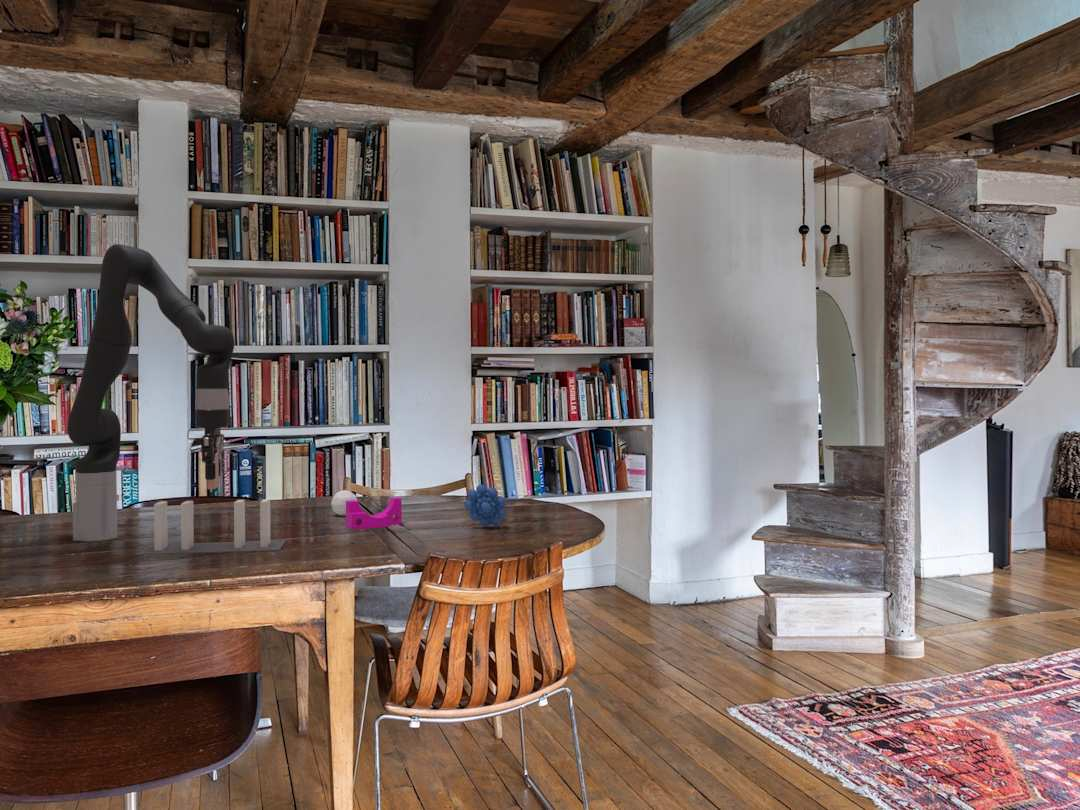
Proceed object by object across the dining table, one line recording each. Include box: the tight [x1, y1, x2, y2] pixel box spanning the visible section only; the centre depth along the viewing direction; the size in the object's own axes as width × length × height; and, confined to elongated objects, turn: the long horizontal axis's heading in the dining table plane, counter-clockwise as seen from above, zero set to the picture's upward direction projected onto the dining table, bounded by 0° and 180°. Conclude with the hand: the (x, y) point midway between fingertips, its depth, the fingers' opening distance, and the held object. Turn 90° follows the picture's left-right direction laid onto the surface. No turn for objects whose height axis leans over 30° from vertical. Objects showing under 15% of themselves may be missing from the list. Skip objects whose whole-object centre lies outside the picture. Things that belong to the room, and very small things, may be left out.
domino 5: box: [259, 498, 272, 547], centre depth 200 cm, size 2×5×11 cm, turn 10°
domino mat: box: [135, 539, 287, 556], centre depth 198 cm, size 32×12×1 cm, turn 100°
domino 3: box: [206, 447, 220, 490], centre depth 198 cm, size 2×5×11 cm, turn 10°
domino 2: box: [180, 500, 195, 550], centre depth 197 cm, size 2×5×11 cm, turn 10°
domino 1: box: [153, 500, 169, 551], centre depth 196 cm, size 2×5×11 cm, turn 10°
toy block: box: [345, 496, 403, 530], centre depth 231 cm, size 15×6×8 cm, turn 118°
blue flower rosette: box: [464, 484, 507, 528], centre depth 227 cm, size 12×7×12 cm, turn 97°
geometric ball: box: [330, 489, 358, 517], centre depth 247 cm, size 8×8×8 cm
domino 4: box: [233, 499, 246, 548], centre depth 199 cm, size 2×5×11 cm, turn 10°
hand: (213, 477), depth 198 cm, fingers closed on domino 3, 5 cm apart
